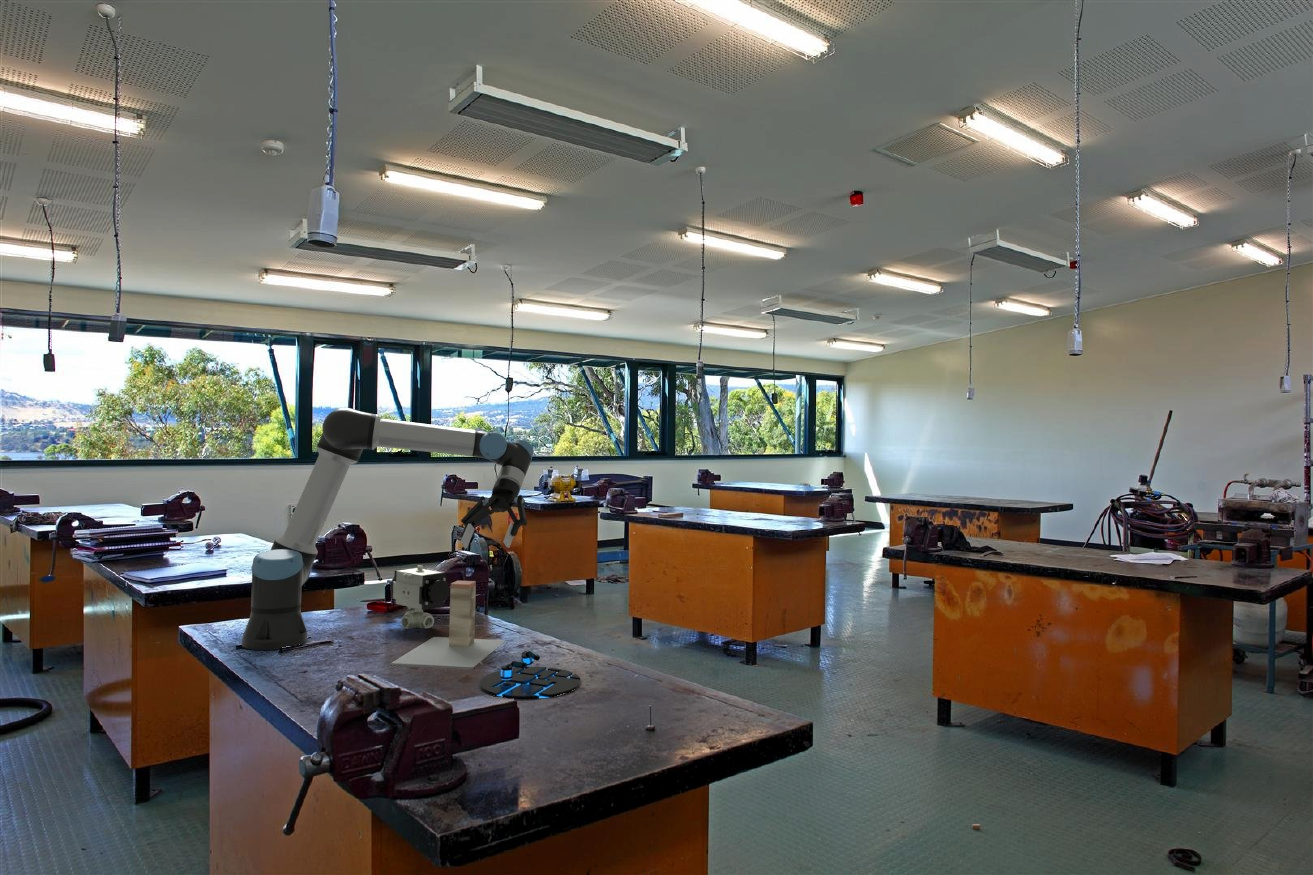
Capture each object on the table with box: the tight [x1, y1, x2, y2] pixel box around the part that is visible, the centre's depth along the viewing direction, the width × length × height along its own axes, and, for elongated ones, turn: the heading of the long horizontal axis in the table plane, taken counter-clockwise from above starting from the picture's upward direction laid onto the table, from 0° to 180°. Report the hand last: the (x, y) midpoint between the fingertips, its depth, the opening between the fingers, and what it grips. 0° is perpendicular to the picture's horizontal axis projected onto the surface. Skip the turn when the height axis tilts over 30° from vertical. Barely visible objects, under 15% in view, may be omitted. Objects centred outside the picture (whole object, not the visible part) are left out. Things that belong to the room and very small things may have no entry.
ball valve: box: [389, 564, 450, 630], centre depth 217 cm, size 18×8×18 cm, turn 55°
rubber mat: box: [390, 636, 506, 671], centre depth 191 cm, size 26×20×1 cm
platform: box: [479, 649, 582, 701], centre depth 168 cm, size 22×22×6 cm
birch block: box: [448, 580, 477, 647], centre depth 198 cm, size 5×5×16 cm
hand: (484, 545), depth 210 cm, fingers open, 13 cm apart
